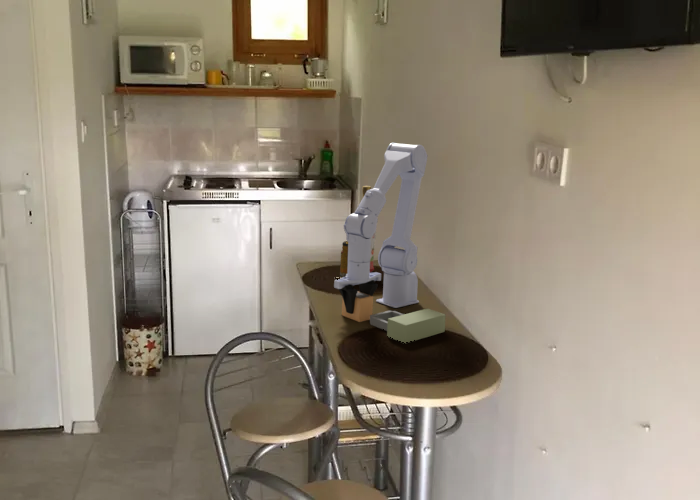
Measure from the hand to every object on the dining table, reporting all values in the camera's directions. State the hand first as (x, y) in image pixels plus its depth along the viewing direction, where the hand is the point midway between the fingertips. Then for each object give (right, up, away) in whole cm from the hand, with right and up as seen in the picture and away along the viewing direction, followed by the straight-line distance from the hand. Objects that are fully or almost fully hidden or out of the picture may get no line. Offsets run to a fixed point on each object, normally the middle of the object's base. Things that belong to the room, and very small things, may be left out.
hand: (357, 310), depth 185 cm
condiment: (-2, +6, +35) cm, 36 cm away
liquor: (+3, +8, +45) cm, 46 cm away
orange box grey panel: (0, -2, 0) cm, 2 cm away
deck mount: (+11, -4, -8) cm, 14 cm away
